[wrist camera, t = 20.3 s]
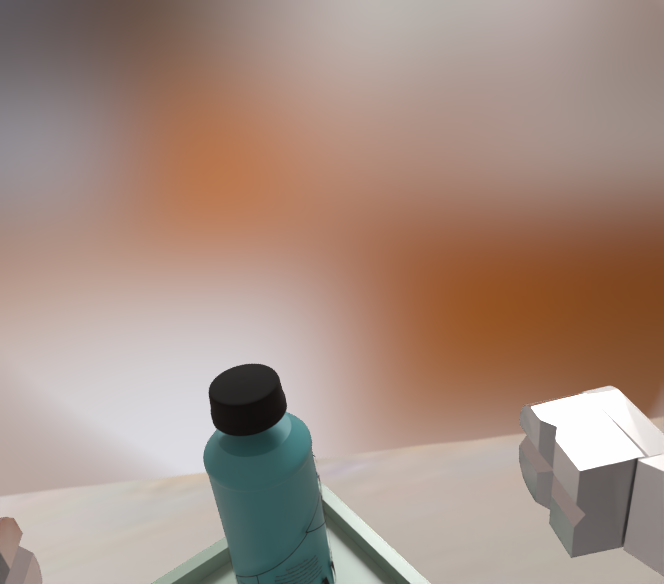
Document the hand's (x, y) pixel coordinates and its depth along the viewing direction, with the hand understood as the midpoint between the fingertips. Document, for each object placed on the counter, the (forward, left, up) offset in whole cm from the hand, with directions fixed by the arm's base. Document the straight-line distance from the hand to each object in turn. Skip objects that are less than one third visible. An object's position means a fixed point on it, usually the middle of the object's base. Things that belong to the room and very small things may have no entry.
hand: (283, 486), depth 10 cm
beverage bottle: (-7, -18, -31) cm, 37 cm away
